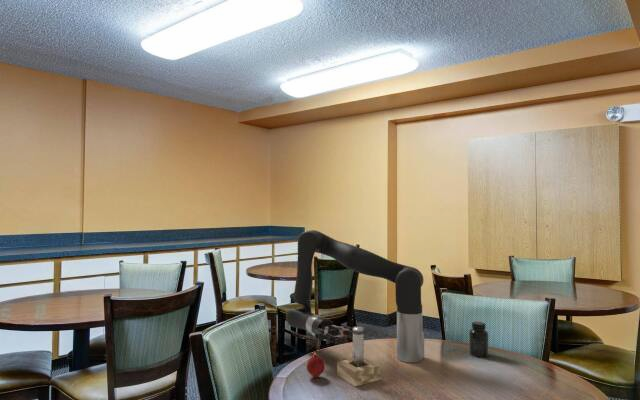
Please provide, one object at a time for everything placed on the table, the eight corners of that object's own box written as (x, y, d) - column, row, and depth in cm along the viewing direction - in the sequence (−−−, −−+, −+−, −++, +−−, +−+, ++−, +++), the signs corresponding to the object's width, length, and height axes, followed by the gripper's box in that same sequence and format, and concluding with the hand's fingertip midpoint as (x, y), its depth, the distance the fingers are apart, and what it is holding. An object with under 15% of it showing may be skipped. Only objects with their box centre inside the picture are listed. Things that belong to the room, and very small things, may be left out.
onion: (326, 375, 137) (326, 351, 137) (321, 382, 131) (321, 356, 132) (310, 373, 139) (310, 349, 139) (303, 379, 133) (304, 354, 134)
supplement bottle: (472, 350, 163) (472, 319, 163) (490, 354, 159) (490, 322, 159) (466, 355, 157) (466, 323, 158) (485, 359, 153) (485, 326, 154)
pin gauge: (359, 371, 138) (359, 325, 139) (366, 375, 135) (366, 328, 135) (349, 373, 136) (350, 327, 137) (356, 377, 133) (356, 330, 133)
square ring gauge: (361, 369, 142) (361, 356, 142) (380, 379, 134) (380, 365, 134) (337, 375, 137) (337, 361, 137) (354, 386, 128) (354, 371, 129)
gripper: (303, 318, 153) (326, 329, 139) (335, 314, 160) (360, 324, 147) (302, 339, 153) (326, 352, 139) (335, 333, 160) (360, 345, 146)
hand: (344, 337), depth 143 cm, fingers open, 8 cm apart
